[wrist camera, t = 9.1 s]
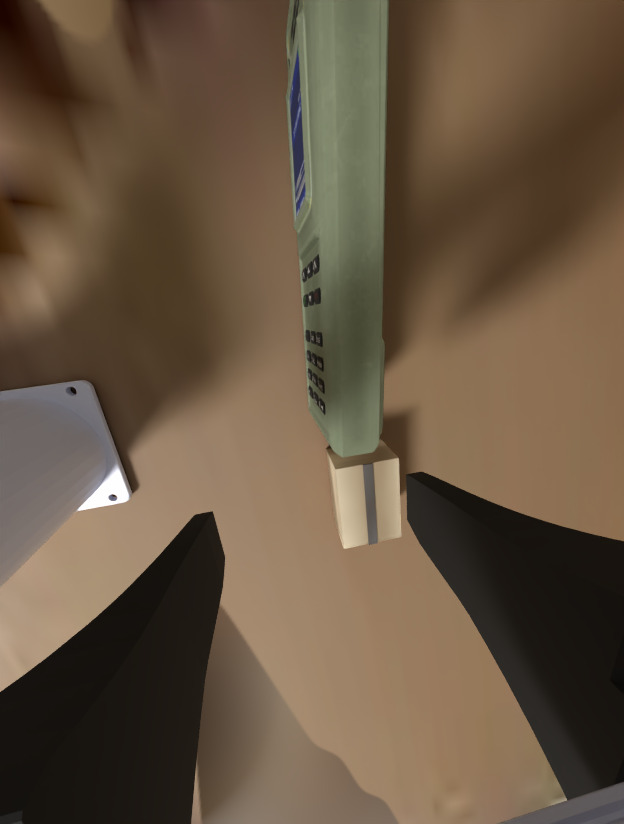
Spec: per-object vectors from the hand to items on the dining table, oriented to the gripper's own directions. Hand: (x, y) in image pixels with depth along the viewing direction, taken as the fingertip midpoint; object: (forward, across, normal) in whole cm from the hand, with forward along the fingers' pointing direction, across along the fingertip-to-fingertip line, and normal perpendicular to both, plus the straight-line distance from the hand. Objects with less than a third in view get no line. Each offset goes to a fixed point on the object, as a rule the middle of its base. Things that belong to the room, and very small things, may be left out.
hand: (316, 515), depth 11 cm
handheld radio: (+10, -3, -13) cm, 17 cm away
